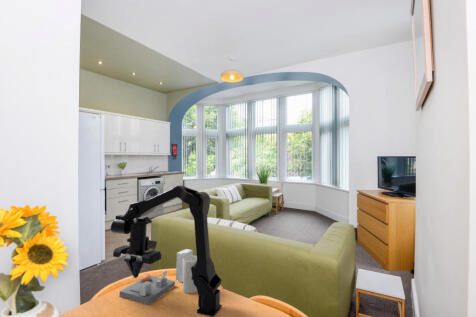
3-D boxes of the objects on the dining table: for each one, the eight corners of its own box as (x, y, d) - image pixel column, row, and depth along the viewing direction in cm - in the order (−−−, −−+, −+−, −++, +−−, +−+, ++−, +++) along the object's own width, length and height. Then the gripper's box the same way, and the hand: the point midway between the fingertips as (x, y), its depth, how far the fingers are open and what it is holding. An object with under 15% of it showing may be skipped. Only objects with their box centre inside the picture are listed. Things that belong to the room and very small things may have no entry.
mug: (196, 294, 84) (197, 262, 85) (179, 293, 85) (180, 261, 86) (203, 281, 94) (203, 253, 95) (187, 281, 95) (188, 252, 96)
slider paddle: (151, 292, 81) (151, 282, 81) (145, 296, 78) (145, 286, 79) (145, 290, 82) (146, 281, 82) (139, 294, 79) (140, 284, 80)
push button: (151, 279, 91) (152, 275, 91) (146, 282, 88) (146, 278, 88) (146, 277, 92) (146, 273, 93) (140, 281, 89) (140, 277, 90)
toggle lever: (164, 283, 88) (168, 270, 88) (161, 286, 86) (165, 272, 86) (160, 281, 89) (165, 268, 89) (157, 283, 87) (161, 270, 87)
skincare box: (185, 275, 100) (186, 248, 101) (192, 277, 98) (193, 249, 99) (175, 280, 95) (176, 252, 96) (182, 283, 93) (183, 254, 94)
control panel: (174, 286, 90) (175, 276, 91) (148, 305, 77) (149, 293, 77) (148, 279, 95) (148, 270, 96) (119, 296, 82) (120, 285, 82)
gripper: (171, 232, 88) (170, 273, 86) (136, 228, 95) (134, 265, 93) (151, 240, 77) (149, 286, 76) (113, 234, 84) (110, 276, 83)
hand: (135, 277), depth 82 cm, fingers closed
